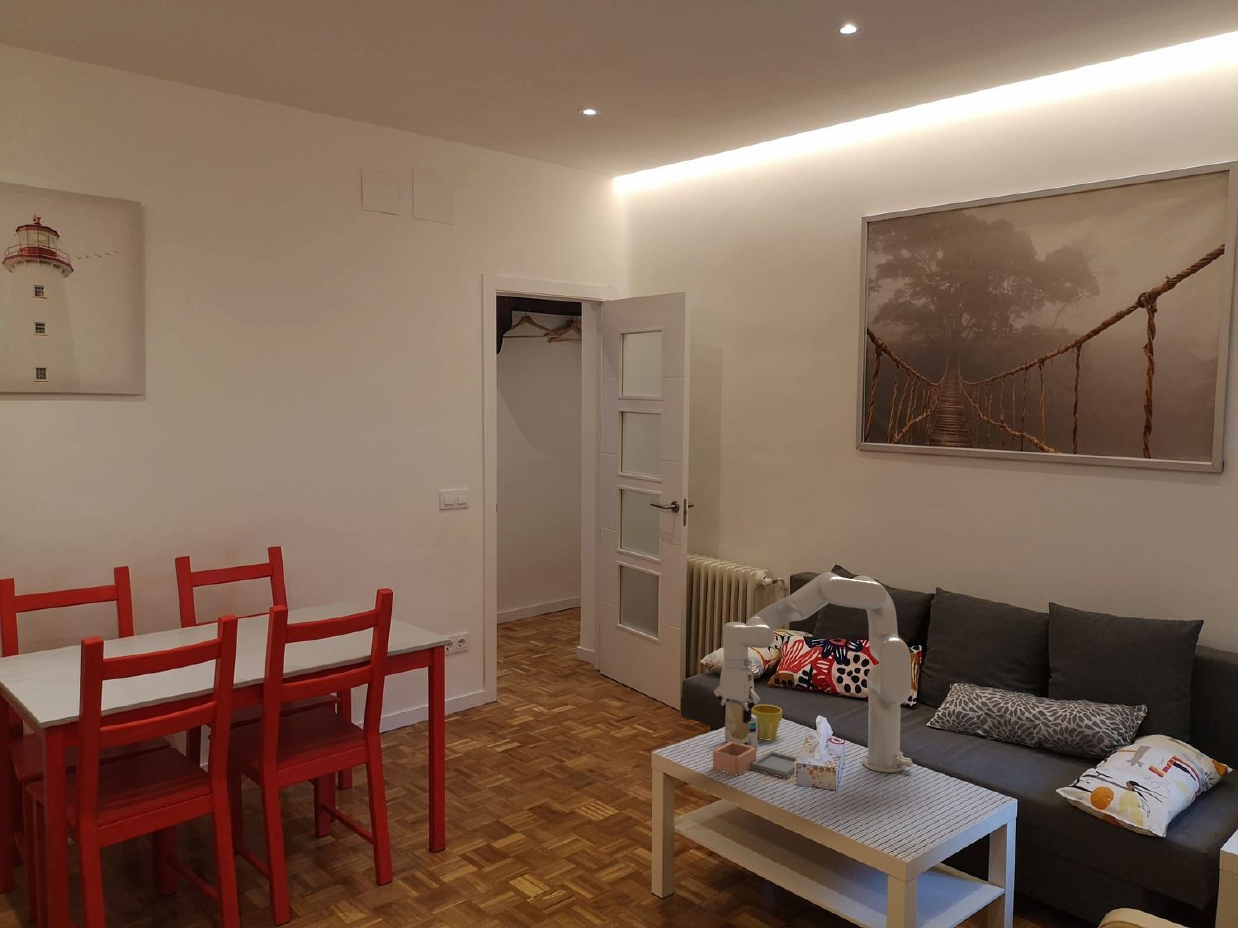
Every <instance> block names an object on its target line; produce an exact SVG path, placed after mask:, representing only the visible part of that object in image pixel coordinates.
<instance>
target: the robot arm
mask: <svg viewBox="0 0 1238 928" xmlns="http://www.w3.org/2000/svg"><path fill="white" fill-rule="evenodd" d="M828 604H832V605H835V606H840V607H845V608H846V607H847V608H854V609H861V610H866V614H867V620H868V643H869V644H868V648H869V652H870V654H871V656H872V657H873V658H874V659H875V660H877V661H878V664H875V665H873V666H872V667H871V668H870V669H869V671H868V672H867V677H866V686H867V687H866V688H867V695H868V719H867V721H868V722H867V724H868V725H867V726H868V727H867V729H868V730H867V735H868V736H867V737H868V738H867V755H866V756H864V757H863V759H862V764H863V766H864V767H865V768H867V769H870V770H871V771H875V772H880V773H886V774H887V773H888V774H889V773H898V772H902V771H904V769H905V767H906V768H913V764H914V762H913V761H912V758H910V757H909V758H908V757H904V756H903V755H904V753H903V751H901V749H900V747H901V746H900V745H901V704H904V703H905V702H906V701H908V699H909V697H910V695H911V693H912V664H911V663H912V661H911V660H912V659H911V652H910V649H909V647H908V645H907V644H906V642H905V641H904V640H903V639H901V638H900V637H899V633H898V620H897V619H898V618H897V613H896V607H895V604H894V601H893V599H892V597H891V595H890V594H889V592H888V591H887V590H886V588H885V587H884V586H883V584H881V583H879V582H878V581H876V580H875V579H873V578H872V577H869V576H867V575H858V576H855V577H853V578H852V579H850V578H847V577H843V576H842V577H841V576H839V575H838V574H836V573H834V572H831V571H826V572H823V573H820V574H819V575H817V576H816V577H814V578H813V579H812V580H810V581H809V582H807V583H806V584H804V585H803V586H802V587H800V588H799V589H797V590H796V591H795V592H793V593H792V594H790V595H789V596H787V597H785V598H782V599H780V600H778V601H776V602H773V603H771V604H769V605H768V606H766V607H765V608H763V609H761V610H760V611H758V612H757V613H755V614H754V615H753V616H752V617H750V618H749V619H748V620H747V622H746V623H744V622H741V621H730V622H727V623H725V624H724V625H723V629H722V630H723V631H722V633H723V634H722V635H723V665H722V667H721V672H720V677H719V679H720V680H719V686H718V687H717V688H716V689H714V690H713V694H714V695H715V696H716V697H717V700H718V701H719V702H720V705H721V706H722V716H723V717H722V718H723V719H724V720H725V714H726V702H727V701H729V700H737V701H742V702H743V705H744V707H745V710H744V723H748V722H750V721H751V718H752V715H751V709H752V708H753V707H754V706H755V705H758V703H759V702H760V701H761V698H760V696H759V695H758V694H757V693H756V692H755V682H754V675H753V671H752V668H751V666H752V664H753V663H752V661H751V660H749V659H750V658H749V648H754V649H755V648H756V649H765V648H769V647H770V646H771V645H772V644H773V643H774V642H775V633H774V630H776V629H777V628H779V627H781V626H782V625H785V624H788V623H791V622H799V621H803V620H806V619H808V618H810V617H811V616H812V615H814V614H815V613H817V611H818V612H819V610H821V609H822V608H824V607H825V606H826V605H828ZM751 699H752V701H751Z"/></svg>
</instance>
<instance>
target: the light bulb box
mask: <svg viewBox="0 0 1238 928" xmlns="http://www.w3.org/2000/svg"><path fill="white" fill-rule="evenodd" d="M751 715H752V714H751ZM757 722H758V717H756V716H754V715H752V718H751V721H750V722H749V727H748V742H745V743H743V744H744V745H748V746H752V747H754V748H757V749H758V738H757ZM724 741H725V742H726V741H727V743H728V742H731V741H728V740H725V739H724Z"/></svg>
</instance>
